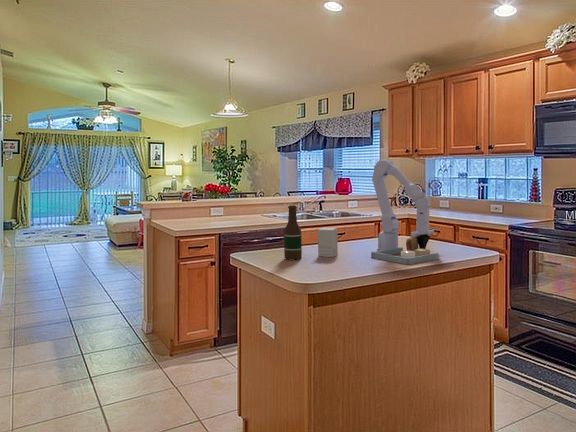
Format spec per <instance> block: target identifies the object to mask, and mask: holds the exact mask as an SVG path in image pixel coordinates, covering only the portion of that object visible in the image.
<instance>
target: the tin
mask: <svg viewBox="0 0 576 432" xmlns="http://www.w3.org/2000/svg"><path fill="white" fill-rule="evenodd" d="M405 246H406V251H413V250H414V249H419V244H418V239H417V237H416V236H415V237H411V236H410V237H408V238H407V239H406V242H405Z"/></svg>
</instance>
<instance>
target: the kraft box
mask: <svg viewBox="0 0 576 432" xmlns="http://www.w3.org/2000/svg"><path fill="white" fill-rule="evenodd" d="M413 251H414V252H415V257H417V256H423V255H428V254H431V249H428V248H426V249H422V248H421V249H420V248H418V249H414V250H413Z"/></svg>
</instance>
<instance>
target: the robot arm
mask: <svg viewBox="0 0 576 432" xmlns="http://www.w3.org/2000/svg"><path fill="white" fill-rule="evenodd" d="M388 175H390V176H392V177H393V176H394V178H395V179H396V180H397V181H398V182H399V183H400V184H401V185H402V186H403V187H404V191H405V193H406V194H407V196H408V197H409V198H410V199H411V200H412V201H413V203H414V206H415V207H416V222H415V223H416V224H415V225H416V230H415V231H411V232H410V237H415V236H416V237H417V239H418V249H421V248H422V249H427V244H428V242H429V240H430V238H431V235H435V229H430V206H431V203H432V202H431V199H430V197H429V196H427V195H426V193H424V192H423V191H422V190H421V189H420V188H419V185H418V184H415V183H412V182H410V181H409V179H408V178H407V177H406V176H405V174H404V173H403V172H402V171H401V170H400V168H399V167H398V166H397V165H396V164H395V163H394V162H393V161H392V160H390V159H379V160H378V161H377V162H376V163H375V164H374V166H373V174H372V179H371V180H372V184H373V188H374V191H375V195H376V198H377V201H378V205H379V209H380V212H381V220H380V221H381V229H382V231H380V232H379V233H378V236H377V248H376V251H381V250H387V249H394V248H399V230H398V229H399V228H400V221H399V219H398V218H397V216H396V214H395V213H394V211H393V207H392V205H391V201H390V198H389V195H388V191H387V187H386V183H385V179H386V178H387V177H388Z"/></svg>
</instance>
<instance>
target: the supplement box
mask: <svg viewBox="0 0 576 432" xmlns="http://www.w3.org/2000/svg"><path fill="white" fill-rule="evenodd" d="M317 251H318V252H317V253H318V254H317V256H318V257H321V256H322V257H323V258H334V257H336V256H338V253H339V252H338V228H337V227H322V228H319V229H317Z"/></svg>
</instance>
